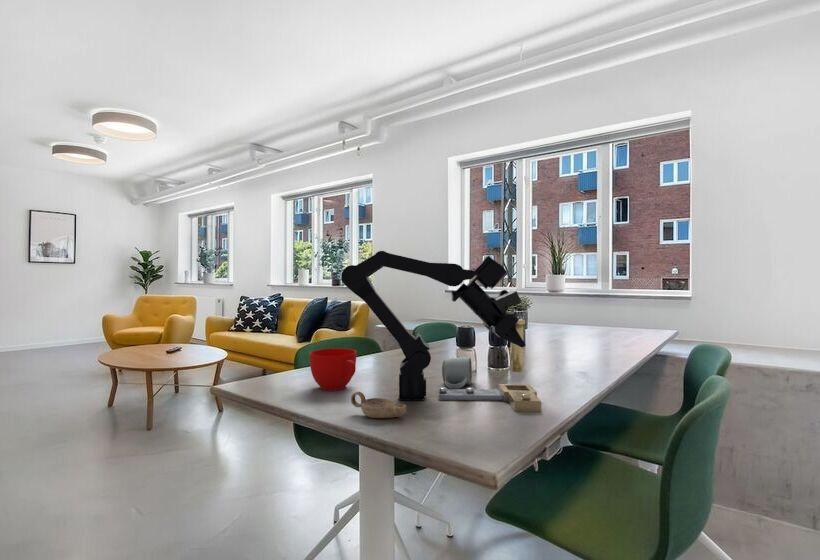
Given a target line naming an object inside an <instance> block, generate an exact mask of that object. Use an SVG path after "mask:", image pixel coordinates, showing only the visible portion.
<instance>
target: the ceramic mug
mask: <svg viewBox="0 0 820 560" xmlns="http://www.w3.org/2000/svg"><path fill="white" fill-rule="evenodd" d="M441 363H442V365H441V377H442V380H443V382H444V383H445V386H446V388H448V389H462V388H463V387H464V386H465V385H467V386H468V385H472V380H473V378H472V377H473V372H472V371H473V369H472V368H473V366H472V358H471V357H469V356H467V357H466V356H465V357H448V358H444V359H443V361H442V362H441Z"/></svg>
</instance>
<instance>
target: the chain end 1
mask: <svg viewBox="0 0 820 560" xmlns="http://www.w3.org/2000/svg"><path fill="white" fill-rule="evenodd" d="M522 391H526V390H522ZM438 400H439V401H503V402H505V403H506V402H507V403H509V402H508V397H504V396H503V394H502V393H501V391H500V389H499V388H498V389H496V388H495V389H492V388H491V389H489V388H488V389H487V388H486V389H483V388H479V389H477V388H474V387H471V386H470V387H469V386H468V387H466V388H458V389H452V388H448V387H447V386H446V387H444V386H441V387H438Z"/></svg>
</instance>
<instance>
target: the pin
mask: <svg viewBox="0 0 820 560" xmlns="http://www.w3.org/2000/svg"><path fill="white" fill-rule="evenodd" d="M518 319H519V318H518ZM524 325H526V319H519V320H518V322H517V323H516V324H515V328H516V330H517V332H518V333H519V335H520V336H521V338H522V340H523V341H524ZM510 371H511V372H514V373H523V372H524V347H520V346H518V345H516V344H514V343H511V342H510Z"/></svg>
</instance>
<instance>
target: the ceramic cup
mask: <svg viewBox="0 0 820 560" xmlns="http://www.w3.org/2000/svg"><path fill="white" fill-rule="evenodd" d="M309 365H310V366H309V367H310V371H311V372H310V373H311V375H312V377H313V379H314V381H315V382H316V383H317V385H318V386H319V388H322V391H329V390H333V391H341V390H344V389H345V388H346V386H348V384H350V382H351V381H352V378H353V376H354V375H355V373H356V369H357V366H356V365H357V350H355V349H351V348H338V347H337V348H322V349H316V350H311V351H310V352H309ZM340 389H341V390H340Z"/></svg>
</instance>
